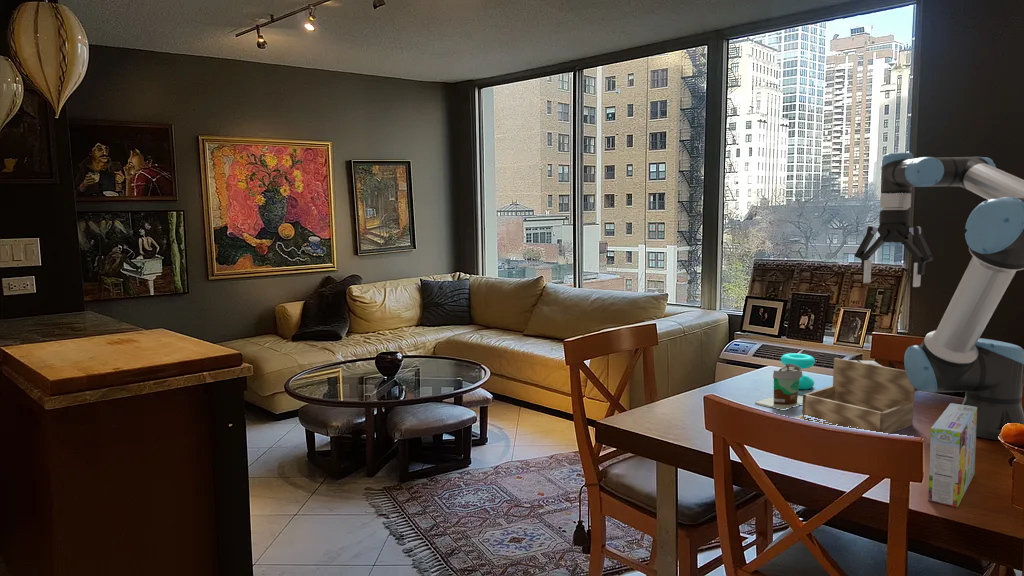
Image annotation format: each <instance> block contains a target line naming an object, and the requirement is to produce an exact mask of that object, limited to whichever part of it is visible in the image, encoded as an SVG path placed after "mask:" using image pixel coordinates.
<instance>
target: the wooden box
mask: <svg viewBox="0 0 1024 576" xmlns="http://www.w3.org/2000/svg"><path fill="white" fill-rule="evenodd" d="M849 360H850V359H844V358H838V357H834V358H833V372H832V373H833V377H832V385H831V386H827V387H823V388H820V389H817V390H814V391H811V392H806V393H804V394H802V396H803V405H801V406H802V407H801V408H802V409H801V414H800V416H799V415H797V416H798V417H797V418H800V419H804V420H808V421H813V420H809V419H811V418H807V419H805V418H806V417H804V415H808V416H811V417H815V418H818V419H823V420H826V421H823V424H829V423H832V424H829V425H836V424H838V425H837V426H843V427H848V426H849V428H856V429H864V430H870V431H876V432H883V433H891V434H893V433H896V432H898V431H900V430H899V429H901V430H903V429H906V428H909V427H911V426H913V421H914V417H913V416H914V405H915V390H916V388H915V387H913V385H912V384H911V383H910V381H909V379H908V377H907V374H906V371H905V369H899V368H892V367H887V366H883V365H881V366H877V365H872V364H866V363H860V362H855V361H849ZM802 414H803V416H801V415H802ZM814 420H817V419H814ZM819 421H820V420H817V421H815V422H819ZM825 422H828V423H825ZM819 423H822V422H819ZM850 426H851V427H850ZM857 427H858V428H857ZM905 427H906V428H905ZM902 428H903V429H902ZM897 430H898V431H897Z"/></svg>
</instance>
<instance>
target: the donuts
mask: <svg viewBox="0 0 1024 576" xmlns="http://www.w3.org/2000/svg"><path fill="white" fill-rule="evenodd" d="M780 362H781V363H782V365H784V367H786V363H788V364H793V365H797V366H799V367H800V368H801V370H803V369H809V368H812V367H813V366H814V365H815V363H816V359H815V358H814V357H813V356H812V355H809V354H806V353H797V352H796V353H795V352H793V353H792V352H789V353H784V354H783V355H781V357H780ZM802 375H803V376H802V377H800V381H799V389H804V390H809V389H812V388H813V387H814V384H815V381H814V379H813V378H812V377H810V376H809V375H806V374H803V373H802Z"/></svg>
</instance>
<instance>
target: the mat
mask: <svg viewBox="0 0 1024 576" xmlns="http://www.w3.org/2000/svg"><path fill="white" fill-rule="evenodd" d="M754 404H755V405H759V406H763V407H766V406H767V408H770V407H774V408H779V409H786V408H790V407H793V406H796V405H800V404H803V395H799V394H798V398H797V403H795V404H791V405H780V404H774V396H771V397H768V398H765V399H764V398H763V399H760V400H758V401H755V402H754Z"/></svg>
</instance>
